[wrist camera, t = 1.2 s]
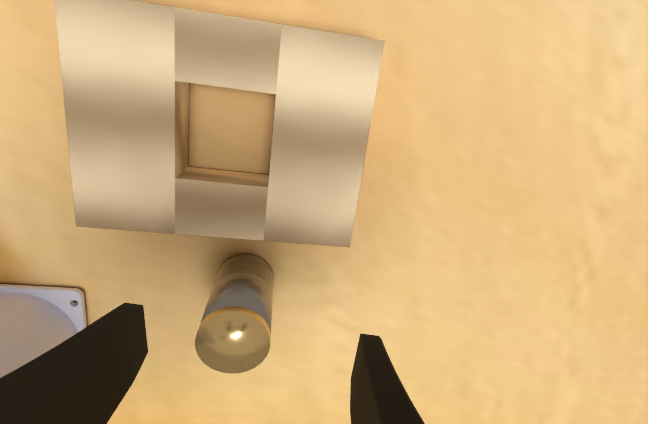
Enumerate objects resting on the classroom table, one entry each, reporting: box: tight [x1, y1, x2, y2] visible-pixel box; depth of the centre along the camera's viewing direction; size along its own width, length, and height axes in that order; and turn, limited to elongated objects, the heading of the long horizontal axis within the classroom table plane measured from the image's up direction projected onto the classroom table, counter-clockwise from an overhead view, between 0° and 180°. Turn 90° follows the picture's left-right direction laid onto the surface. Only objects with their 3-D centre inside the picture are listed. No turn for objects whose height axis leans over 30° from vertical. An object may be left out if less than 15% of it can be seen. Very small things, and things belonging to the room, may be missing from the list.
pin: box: [195, 254, 273, 373], centre depth 23 cm, size 4×4×7 cm
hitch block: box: [54, 0, 384, 247], centre depth 21 cm, size 12×16×3 cm
